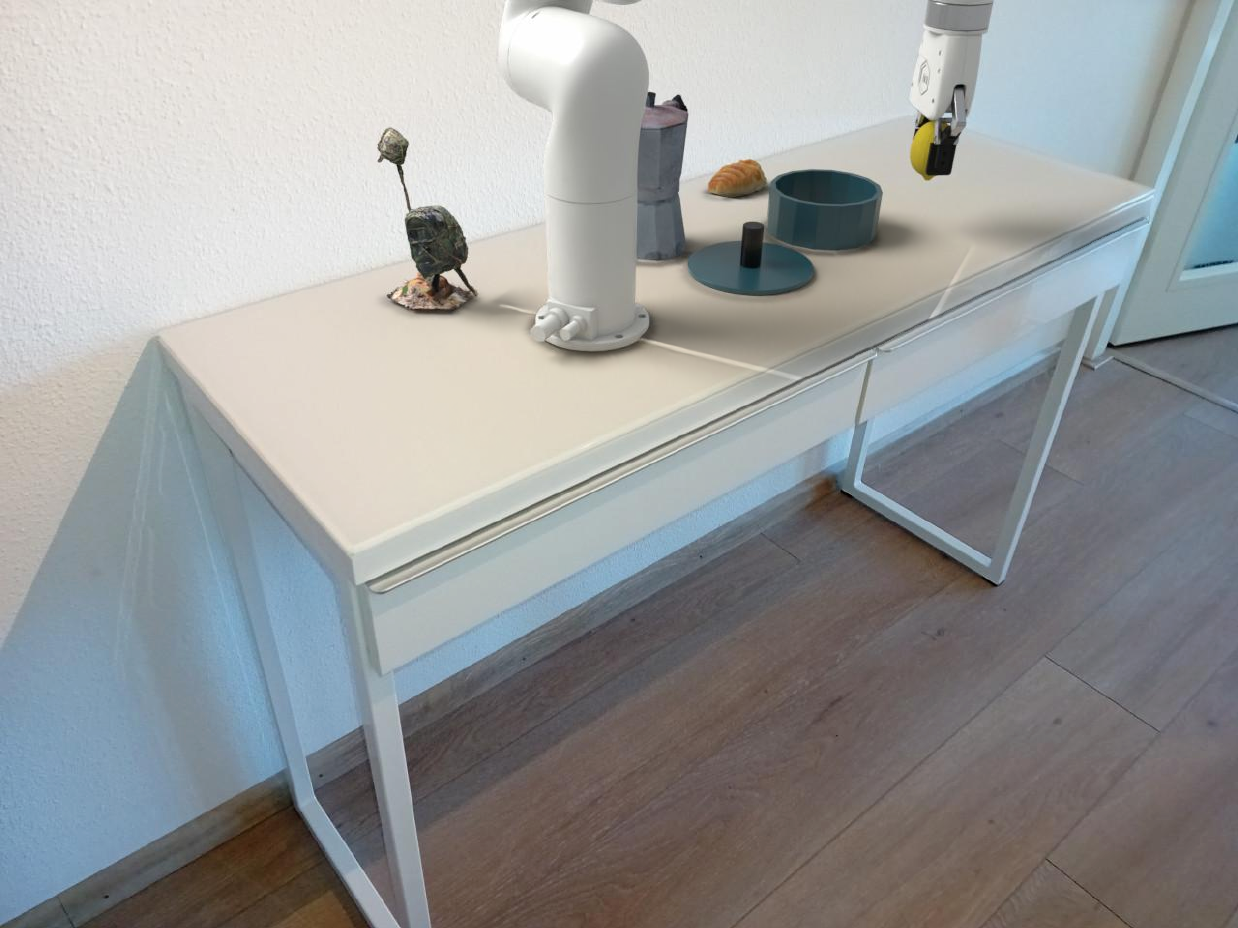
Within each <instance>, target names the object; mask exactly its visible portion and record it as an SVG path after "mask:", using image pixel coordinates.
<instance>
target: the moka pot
mask: <svg viewBox="0 0 1238 928" xmlns="http://www.w3.org/2000/svg"><path fill="white" fill-rule="evenodd" d="M656 97H657V93H656V92H654V91H648V94H647V100H646V105H645V109H644V114H643V119H642V124H641V130H640V138H639V149H638V171H637V247H636V260H644V261H657V262H659V261H663V260H670V259H675V258H678V257H679V256H680V255H683V253H684V252H685V251H686V250H687V242H686V235H685V228H684V221H683V220H684V219H683V215H682V205H681V199H680V198H681V197H680V194H679V192H680V179H681V175H682V171H683V163H684V153H685V145H686V137H687V128H688V121H689V111H688V108H687V106H686V104H685V102H684V101H683V97H682V95H681V94H676V95H675V96H674V97H672V99H667V100H665V101H663V102H662V103H661V104H655V103H656Z"/></svg>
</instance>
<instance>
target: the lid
mask: <svg viewBox="0 0 1238 928" xmlns="http://www.w3.org/2000/svg"><path fill="white" fill-rule="evenodd" d="M764 234H765V224H764V223H763V222H759V221H746V222H744V223H742V229H741V240H730V241H724V242H722V241H721V242H716V243H712V244H708V245H705V246H703V247H700V248H698V249H697V250H695V251H694V252H693V253H692V254H690V255H689V257H688V259H687V264H686V266H687V268H686V269H687V272H688V273H689V275H690V276H691V277H692V278H693V279H694V280H695V281H697V282H698V283H700V284H701V285H704V286H706V287H708V288H712V289H714V290H717V291H720V292H726V293H730V294H737V295H745V296H746V295H747V296H770V295H779V294H784V293H788V292H792V291H795V290H797V289H800V288H802V287H805V285H807V284H808V283H809V282H811V280H812V278H813V276H814V271H815V270H814V264H813V263H812V261H811V260H810V259H809V258H808V257H807V256H805V254H803V253H801V252H799V251H798V250H796V249H792V248H790V247H788V246H784V245H781V244H777V243H771V242H765V241H764V236H765V235H764Z"/></svg>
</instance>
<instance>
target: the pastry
mask: <svg viewBox="0 0 1238 928" xmlns="http://www.w3.org/2000/svg"><path fill="white" fill-rule="evenodd" d="M767 182H768V179H767V177H766V175H765V171H764V170H763V169H762V165H761V164H760V163H759V162H757V161H756V160H755V159H751V158H748V159H744V160H743V159H739V160H738V161H737V162H732V163H730V164H725V165H723V166H722V167H721V168H720V169H719V170H718V171H717V172H716V173H714V174H713V176H712V177H711V178H710V180H709V181H708V183H707V185H708V194H715V195H718V196H721V197H726V198H729V199H730V198H733V199H734V198H735V197H743V196H745V195H751V194H753V193H755V192H759V191H761V190H762V189H763V188H764V187H765V185H766V184H767Z"/></svg>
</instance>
